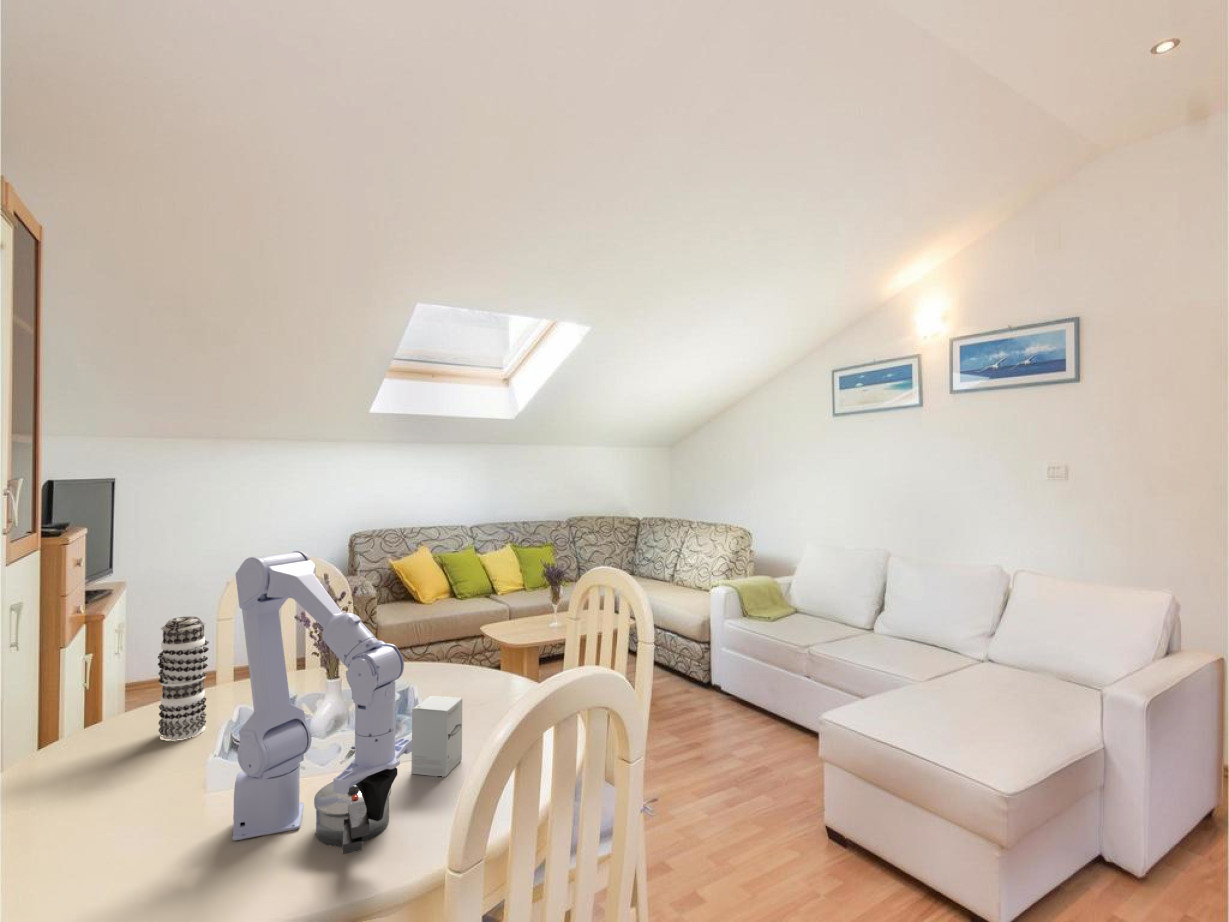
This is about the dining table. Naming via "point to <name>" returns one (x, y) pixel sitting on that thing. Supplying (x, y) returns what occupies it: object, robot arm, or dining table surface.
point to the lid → (345, 807)
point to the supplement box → (436, 735)
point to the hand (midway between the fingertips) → (374, 818)
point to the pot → (347, 830)
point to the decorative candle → (182, 678)
